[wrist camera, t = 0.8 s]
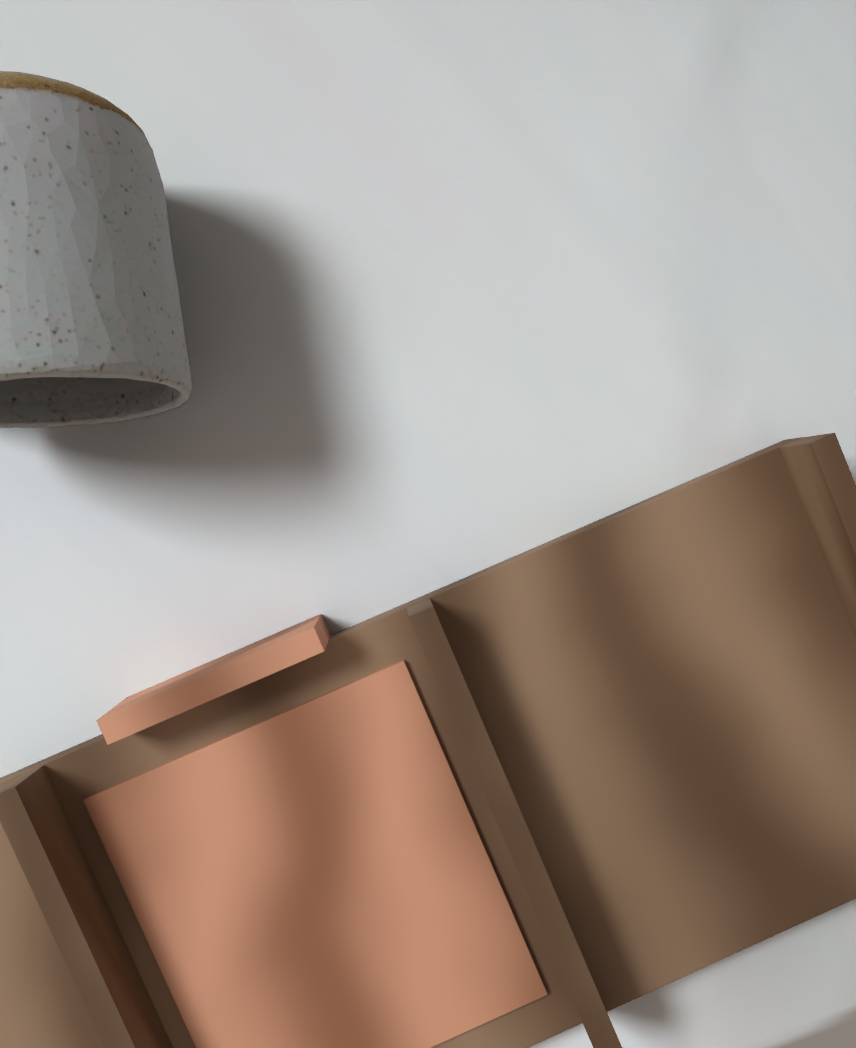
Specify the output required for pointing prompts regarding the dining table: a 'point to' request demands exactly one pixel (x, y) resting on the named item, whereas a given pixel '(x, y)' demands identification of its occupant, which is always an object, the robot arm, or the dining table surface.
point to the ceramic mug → (83, 263)
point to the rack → (463, 795)
